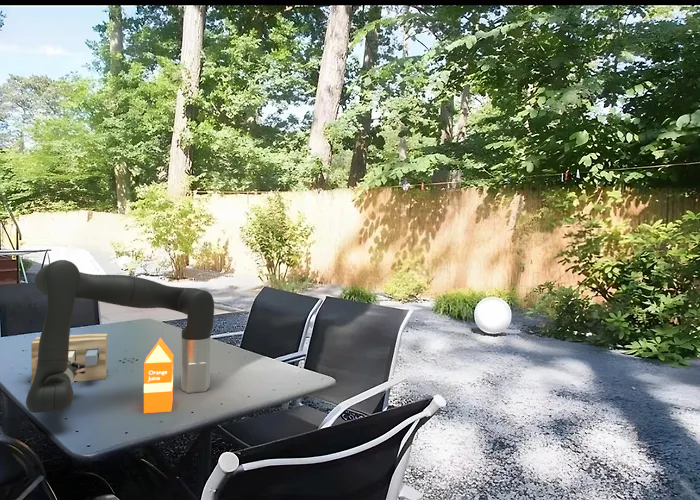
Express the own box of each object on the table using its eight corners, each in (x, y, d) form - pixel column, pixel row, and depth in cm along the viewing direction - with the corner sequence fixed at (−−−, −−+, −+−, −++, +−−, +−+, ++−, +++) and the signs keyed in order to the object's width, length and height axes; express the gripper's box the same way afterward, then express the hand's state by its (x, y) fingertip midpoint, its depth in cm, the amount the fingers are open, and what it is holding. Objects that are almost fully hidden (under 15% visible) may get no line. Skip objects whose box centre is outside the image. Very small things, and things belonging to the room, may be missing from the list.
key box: (105, 379, 177) (105, 339, 176) (31, 385, 168) (31, 343, 168) (107, 371, 186) (107, 333, 185) (37, 376, 178) (36, 336, 177)
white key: (72, 366, 165) (72, 356, 165) (60, 367, 164) (60, 357, 164) (75, 358, 176) (75, 348, 175) (65, 358, 174) (65, 349, 174)
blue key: (96, 364, 168) (96, 355, 168) (85, 365, 167) (85, 356, 167) (98, 356, 178) (98, 347, 178) (88, 357, 177) (88, 348, 177)
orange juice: (143, 413, 147) (143, 344, 146) (146, 402, 156) (146, 337, 155) (171, 411, 150) (172, 343, 148) (173, 400, 158) (174, 336, 157)
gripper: (84, 364, 150) (89, 350, 166) (32, 368, 145) (42, 353, 161) (84, 389, 151) (89, 372, 167) (32, 394, 145) (42, 376, 161)
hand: (66, 363), depth 164 cm, fingers closed
